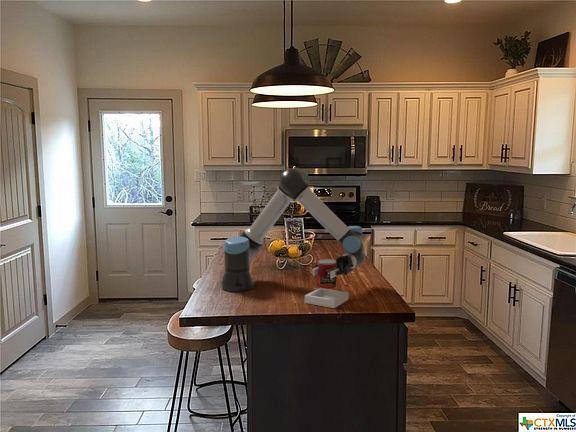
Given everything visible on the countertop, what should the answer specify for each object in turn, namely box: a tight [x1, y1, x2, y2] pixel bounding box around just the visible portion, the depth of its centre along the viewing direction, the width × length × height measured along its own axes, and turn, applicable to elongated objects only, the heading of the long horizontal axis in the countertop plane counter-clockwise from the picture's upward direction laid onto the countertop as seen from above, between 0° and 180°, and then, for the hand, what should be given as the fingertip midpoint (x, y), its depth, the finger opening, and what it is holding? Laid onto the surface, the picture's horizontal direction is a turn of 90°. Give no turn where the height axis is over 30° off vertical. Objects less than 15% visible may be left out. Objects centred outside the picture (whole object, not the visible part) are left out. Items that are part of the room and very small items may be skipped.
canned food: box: [317, 258, 337, 289], centre depth 199 cm, size 8×8×11 cm
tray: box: [304, 287, 350, 309], centre depth 200 cm, size 14×14×3 cm
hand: (322, 273), depth 195 cm, fingers closed on canned food, 8 cm apart
